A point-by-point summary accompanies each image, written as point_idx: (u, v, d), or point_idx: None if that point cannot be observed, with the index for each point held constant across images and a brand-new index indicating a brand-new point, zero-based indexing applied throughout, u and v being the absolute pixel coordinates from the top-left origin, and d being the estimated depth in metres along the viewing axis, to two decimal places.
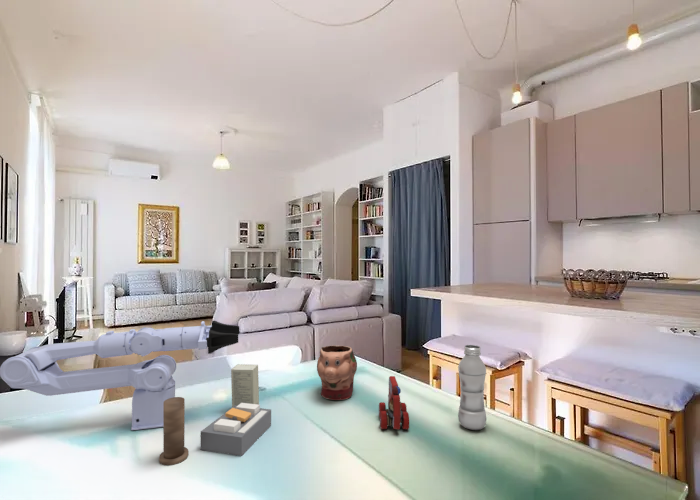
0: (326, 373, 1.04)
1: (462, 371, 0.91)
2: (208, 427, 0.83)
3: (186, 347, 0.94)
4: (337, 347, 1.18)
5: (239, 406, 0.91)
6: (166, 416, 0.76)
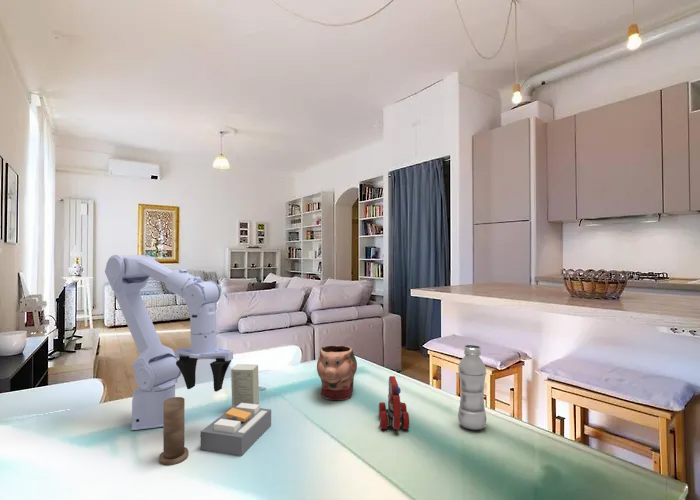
0: (326, 373, 1.04)
1: (462, 371, 0.91)
2: (208, 427, 0.83)
3: None
4: (337, 347, 1.18)
5: (239, 406, 0.91)
6: (166, 416, 0.76)
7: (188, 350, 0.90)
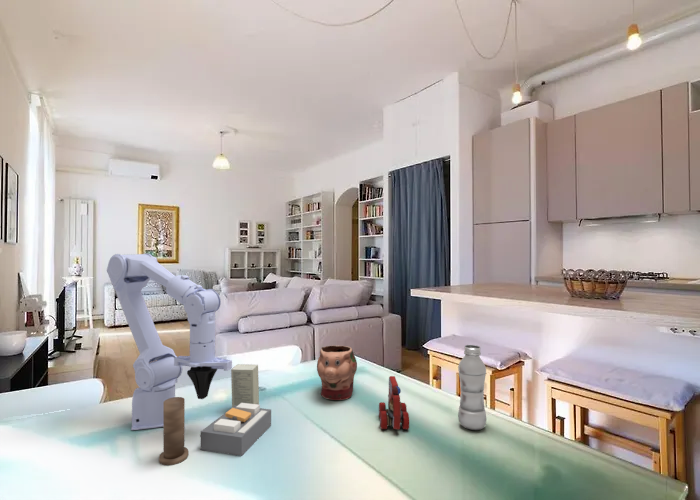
0: (326, 373, 1.04)
1: (462, 371, 0.91)
2: (208, 427, 0.83)
3: None
4: (337, 347, 1.18)
5: (239, 406, 0.91)
6: (166, 416, 0.76)
7: (187, 358, 0.90)
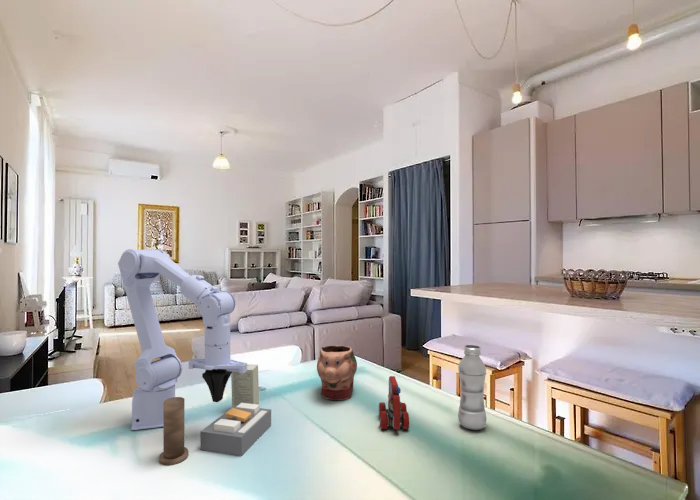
0: (326, 373, 1.04)
1: (462, 371, 0.91)
2: (208, 427, 0.83)
3: None
4: (337, 347, 1.18)
5: (239, 406, 0.91)
6: (166, 416, 0.76)
7: (202, 361, 0.89)
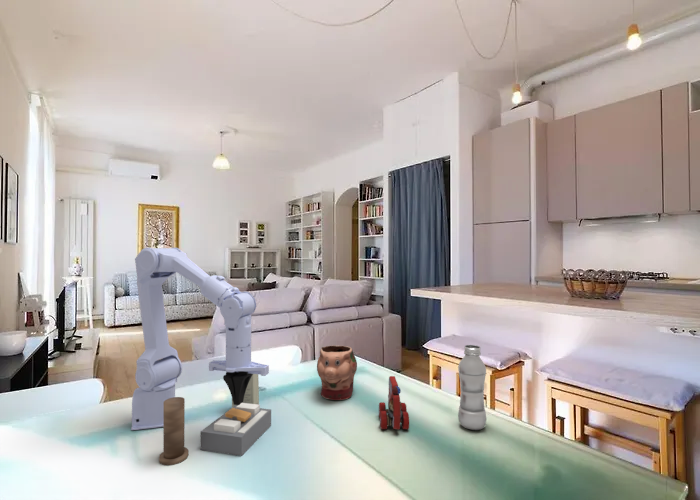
0: (326, 373, 1.04)
1: (462, 371, 0.91)
2: (208, 427, 0.83)
3: None
4: (337, 347, 1.18)
5: (239, 406, 0.91)
6: (166, 416, 0.76)
7: (222, 363, 0.88)
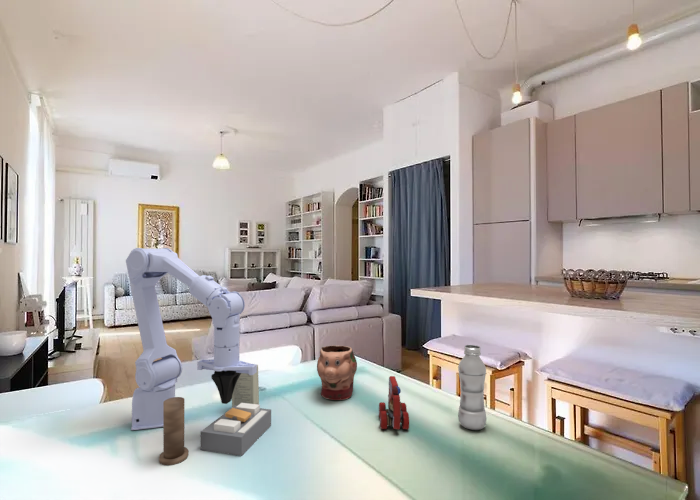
0: (326, 373, 1.04)
1: (462, 371, 0.91)
2: (208, 427, 0.83)
3: None
4: (337, 347, 1.18)
5: (239, 406, 0.91)
6: (166, 416, 0.76)
7: (211, 362, 0.88)
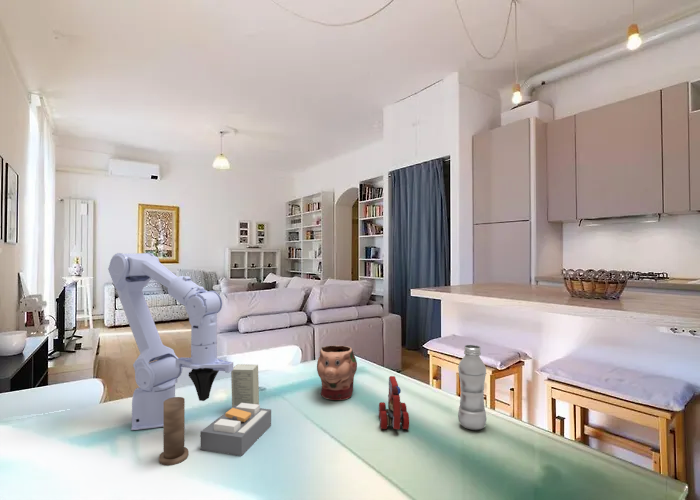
0: (326, 373, 1.04)
1: (462, 371, 0.91)
2: (208, 427, 0.83)
3: None
4: (337, 347, 1.18)
5: (239, 406, 0.91)
6: (166, 416, 0.76)
7: (188, 360, 0.90)
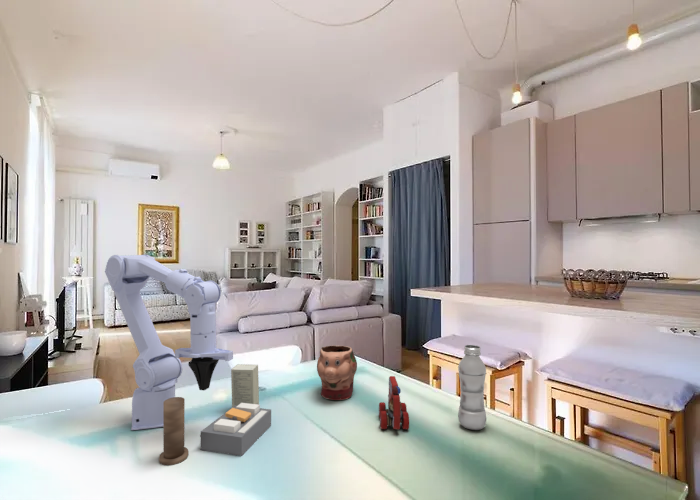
0: (326, 373, 1.04)
1: (462, 371, 0.91)
2: (208, 427, 0.83)
3: None
4: (337, 347, 1.18)
5: (239, 406, 0.91)
6: (166, 416, 0.76)
7: (188, 350, 0.90)
